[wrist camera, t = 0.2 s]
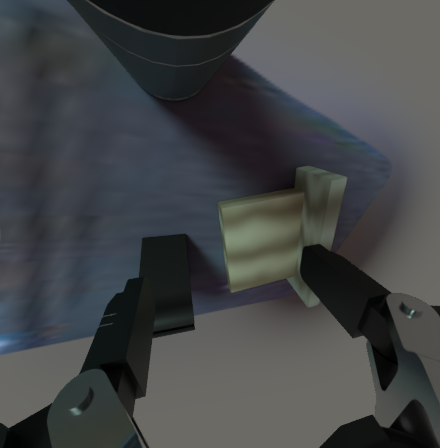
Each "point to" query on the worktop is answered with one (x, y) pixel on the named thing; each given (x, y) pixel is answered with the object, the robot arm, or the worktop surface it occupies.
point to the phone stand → (168, 283)
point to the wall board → (280, 230)
